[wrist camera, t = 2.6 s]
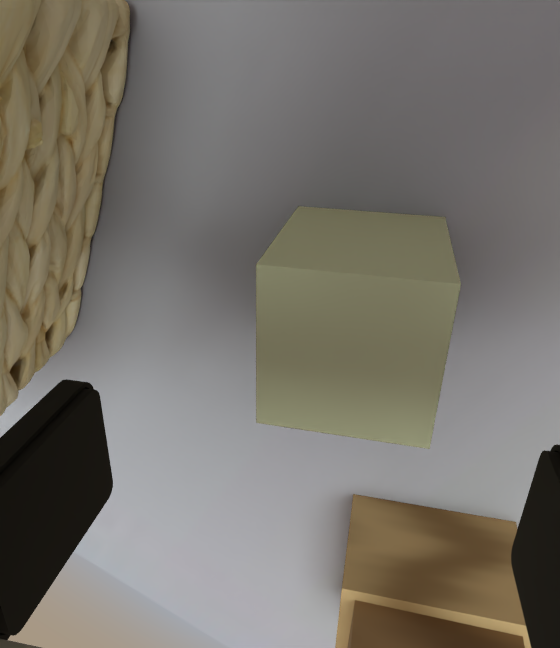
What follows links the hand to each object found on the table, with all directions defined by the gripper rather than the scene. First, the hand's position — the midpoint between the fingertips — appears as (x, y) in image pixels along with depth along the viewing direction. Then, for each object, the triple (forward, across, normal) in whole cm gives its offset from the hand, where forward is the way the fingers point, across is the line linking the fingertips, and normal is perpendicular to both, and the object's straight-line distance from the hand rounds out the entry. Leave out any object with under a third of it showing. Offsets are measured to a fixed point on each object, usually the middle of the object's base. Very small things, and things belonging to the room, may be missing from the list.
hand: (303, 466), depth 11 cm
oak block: (+10, -5, +13) cm, 17 cm away
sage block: (+10, -1, -1) cm, 10 cm away
